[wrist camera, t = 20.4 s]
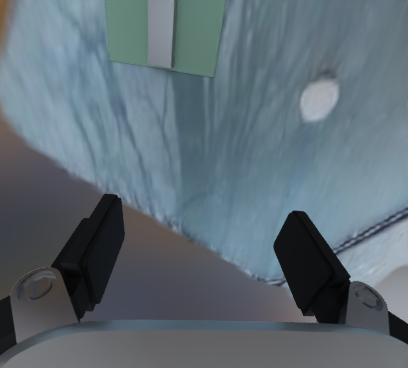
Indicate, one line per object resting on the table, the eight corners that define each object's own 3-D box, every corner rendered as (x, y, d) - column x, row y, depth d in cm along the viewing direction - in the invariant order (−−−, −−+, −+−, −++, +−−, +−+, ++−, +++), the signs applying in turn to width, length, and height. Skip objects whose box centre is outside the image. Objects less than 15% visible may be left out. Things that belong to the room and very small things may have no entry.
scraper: (226, -53, 24) (233, -75, 20) (208, 72, 31) (210, 75, 27) (106, -83, 22) (86, -114, 18) (117, 56, 30) (104, 57, 26)
